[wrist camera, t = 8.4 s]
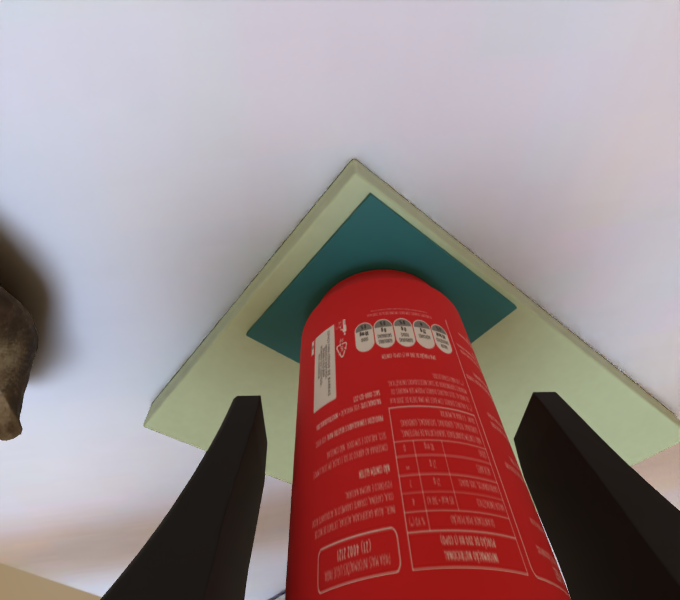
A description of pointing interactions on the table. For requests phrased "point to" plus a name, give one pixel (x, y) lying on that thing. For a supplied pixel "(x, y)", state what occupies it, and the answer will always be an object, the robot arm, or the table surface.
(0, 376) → the brown rock
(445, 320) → the beverage can
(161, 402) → the board
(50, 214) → the table surface
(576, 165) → the table surface
